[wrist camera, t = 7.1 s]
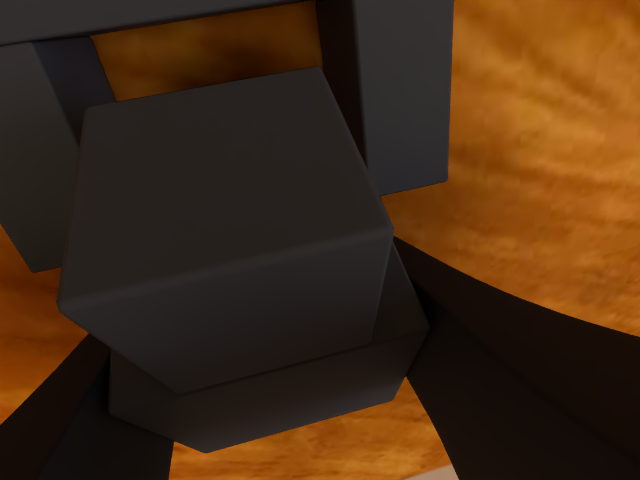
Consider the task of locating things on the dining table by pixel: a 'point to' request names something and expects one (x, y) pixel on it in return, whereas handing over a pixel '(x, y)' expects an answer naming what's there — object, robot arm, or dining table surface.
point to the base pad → (191, 3)
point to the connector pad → (236, 262)
